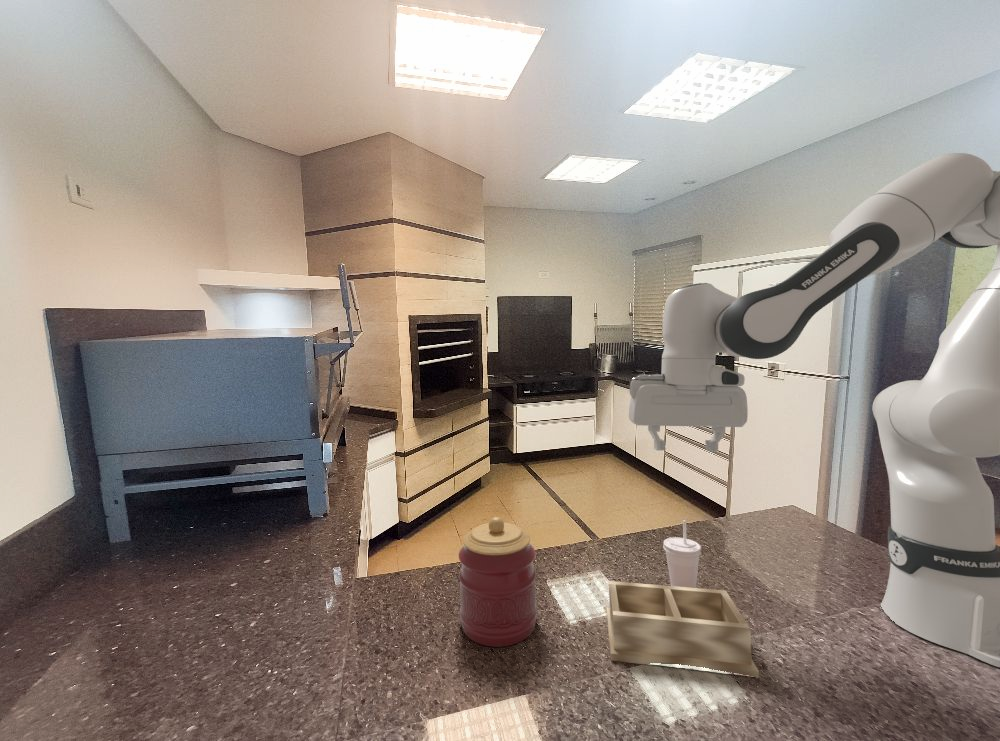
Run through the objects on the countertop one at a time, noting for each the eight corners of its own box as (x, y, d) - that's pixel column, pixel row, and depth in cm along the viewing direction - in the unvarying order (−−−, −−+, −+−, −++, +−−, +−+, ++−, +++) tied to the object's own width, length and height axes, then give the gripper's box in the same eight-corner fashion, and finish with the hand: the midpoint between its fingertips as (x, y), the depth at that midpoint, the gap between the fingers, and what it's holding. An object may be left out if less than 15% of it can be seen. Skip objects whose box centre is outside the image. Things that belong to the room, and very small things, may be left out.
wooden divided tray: (727, 624, 64) (726, 587, 64) (759, 678, 53) (757, 633, 53) (606, 612, 68) (605, 577, 68) (611, 660, 57) (610, 618, 57)
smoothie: (707, 608, 68) (705, 528, 69) (668, 605, 70) (666, 526, 70) (697, 588, 75) (694, 515, 75) (661, 586, 76) (659, 513, 76)
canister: (462, 654, 59) (459, 536, 59) (458, 604, 72) (455, 507, 72) (546, 643, 61) (543, 529, 61) (527, 596, 74) (525, 502, 74)
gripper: (635, 374, 68) (634, 453, 69) (754, 376, 68) (751, 455, 68) (624, 373, 75) (623, 445, 75) (733, 374, 74) (731, 447, 75)
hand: (685, 450), depth 72 cm, fingers open, 8 cm apart
